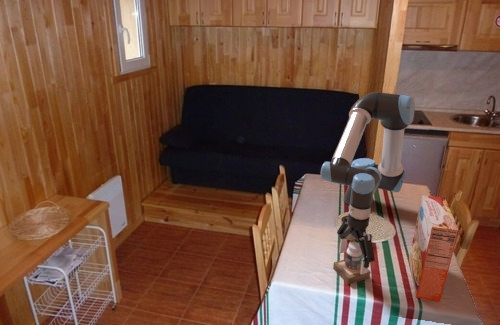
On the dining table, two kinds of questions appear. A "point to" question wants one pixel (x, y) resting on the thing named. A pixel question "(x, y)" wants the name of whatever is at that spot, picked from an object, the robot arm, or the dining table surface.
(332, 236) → the dining table surface
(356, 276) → the base block
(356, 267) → the pill bottle
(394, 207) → the dining table surface
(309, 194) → the dining table surface
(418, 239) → the pasta box
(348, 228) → the flower pot
